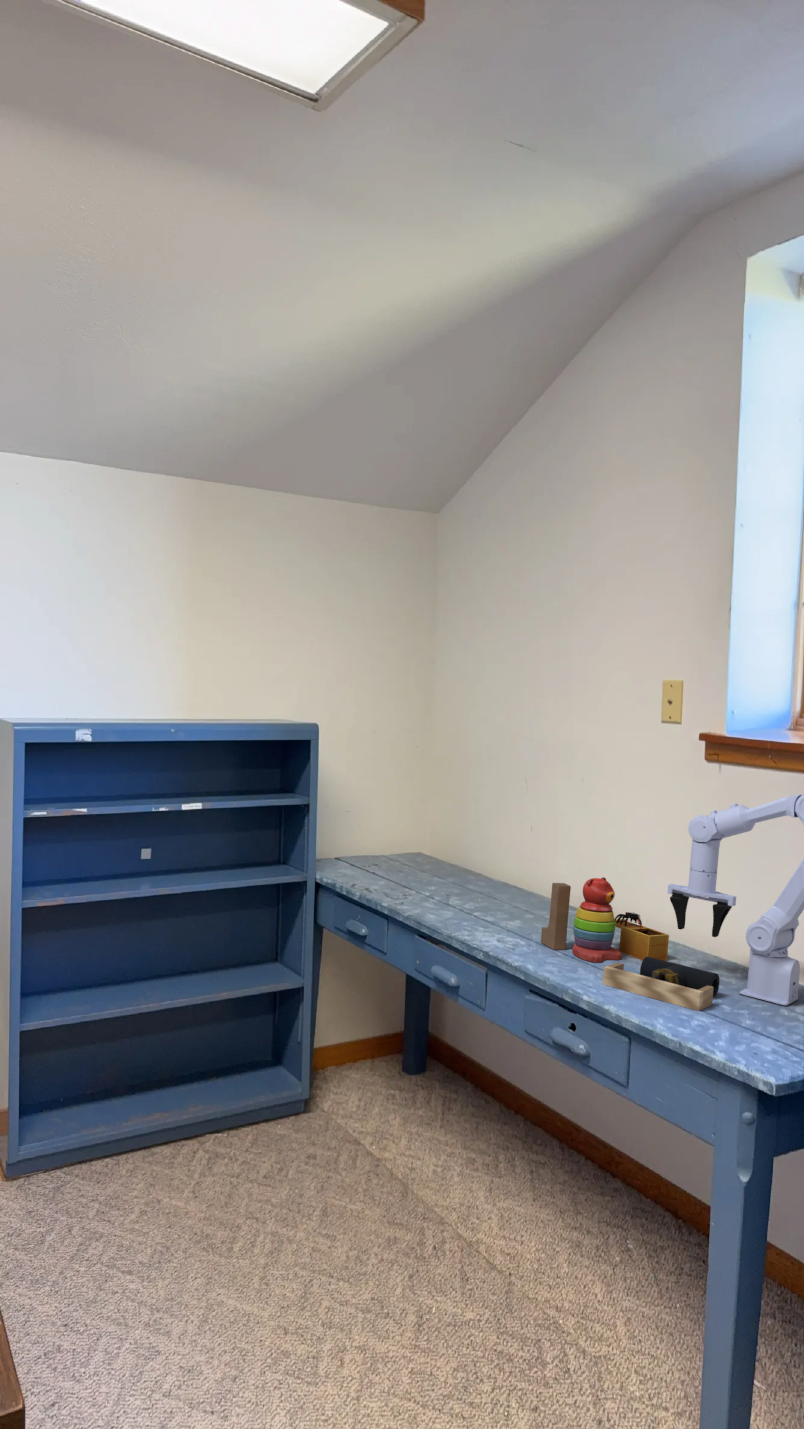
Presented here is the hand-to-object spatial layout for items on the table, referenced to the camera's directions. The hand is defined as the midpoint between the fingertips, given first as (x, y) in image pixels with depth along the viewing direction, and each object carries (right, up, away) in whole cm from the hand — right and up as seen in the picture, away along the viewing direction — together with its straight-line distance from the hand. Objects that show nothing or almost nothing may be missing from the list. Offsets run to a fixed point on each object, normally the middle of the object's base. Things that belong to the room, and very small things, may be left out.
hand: (697, 932), depth 206 cm
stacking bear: (-21, -8, +10) cm, 25 cm away
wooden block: (-29, -7, +16) cm, 34 cm away
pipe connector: (-9, -9, -13) cm, 19 cm away
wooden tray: (-13, -9, -17) cm, 23 cm away
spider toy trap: (-10, -9, +16) cm, 21 cm away
